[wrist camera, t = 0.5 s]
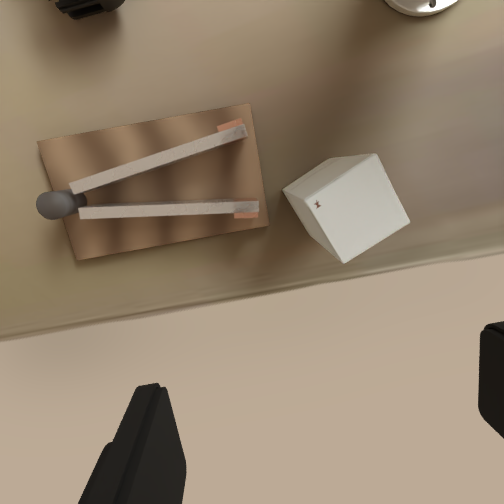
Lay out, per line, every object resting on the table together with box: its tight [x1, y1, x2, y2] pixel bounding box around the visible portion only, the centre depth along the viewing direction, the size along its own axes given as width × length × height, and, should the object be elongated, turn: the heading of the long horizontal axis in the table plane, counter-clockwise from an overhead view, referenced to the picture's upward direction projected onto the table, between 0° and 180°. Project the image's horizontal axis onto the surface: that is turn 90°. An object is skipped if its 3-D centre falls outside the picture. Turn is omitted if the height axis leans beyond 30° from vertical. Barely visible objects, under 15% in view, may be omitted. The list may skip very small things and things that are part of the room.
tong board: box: [36, 103, 270, 260], centre depth 35 cm, size 24×14×6 cm, turn 100°
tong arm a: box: [69, 118, 248, 194], centre depth 34 cm, size 19×2×4 cm, turn 108°
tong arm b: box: [78, 198, 259, 219], centre depth 35 cm, size 19×2×4 cm, turn 92°
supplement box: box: [282, 153, 410, 264], centre depth 34 cm, size 7×7×13 cm
